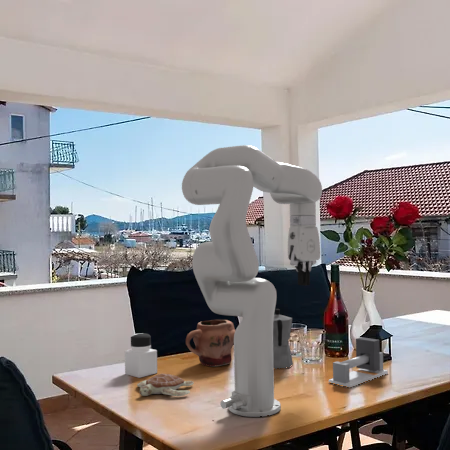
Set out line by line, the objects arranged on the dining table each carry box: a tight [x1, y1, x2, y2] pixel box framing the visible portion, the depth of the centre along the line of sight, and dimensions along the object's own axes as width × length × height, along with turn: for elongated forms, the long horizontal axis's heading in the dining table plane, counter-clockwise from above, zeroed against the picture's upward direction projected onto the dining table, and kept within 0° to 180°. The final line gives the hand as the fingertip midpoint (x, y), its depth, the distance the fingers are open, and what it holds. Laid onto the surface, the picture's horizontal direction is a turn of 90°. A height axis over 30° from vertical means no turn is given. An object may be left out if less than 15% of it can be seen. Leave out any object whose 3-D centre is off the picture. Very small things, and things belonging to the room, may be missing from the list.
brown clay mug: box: [185, 319, 236, 367], centre depth 173 cm, size 20×12×14 cm, turn 134°
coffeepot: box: [273, 308, 294, 370], centre depth 170 cm, size 15×9×18 cm, turn 179°
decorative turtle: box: [136, 373, 194, 397], centre depth 146 cm, size 18×17×5 cm
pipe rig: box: [328, 351, 389, 388], centre depth 155 cm, size 20×7×6 cm, turn 134°
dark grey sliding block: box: [355, 336, 381, 371], centre depth 158 cm, size 3×6×9 cm, turn 44°
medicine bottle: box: [124, 332, 158, 379], centre depth 164 cm, size 7×7×12 cm
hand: (303, 284), depth 157 cm, fingers closed
